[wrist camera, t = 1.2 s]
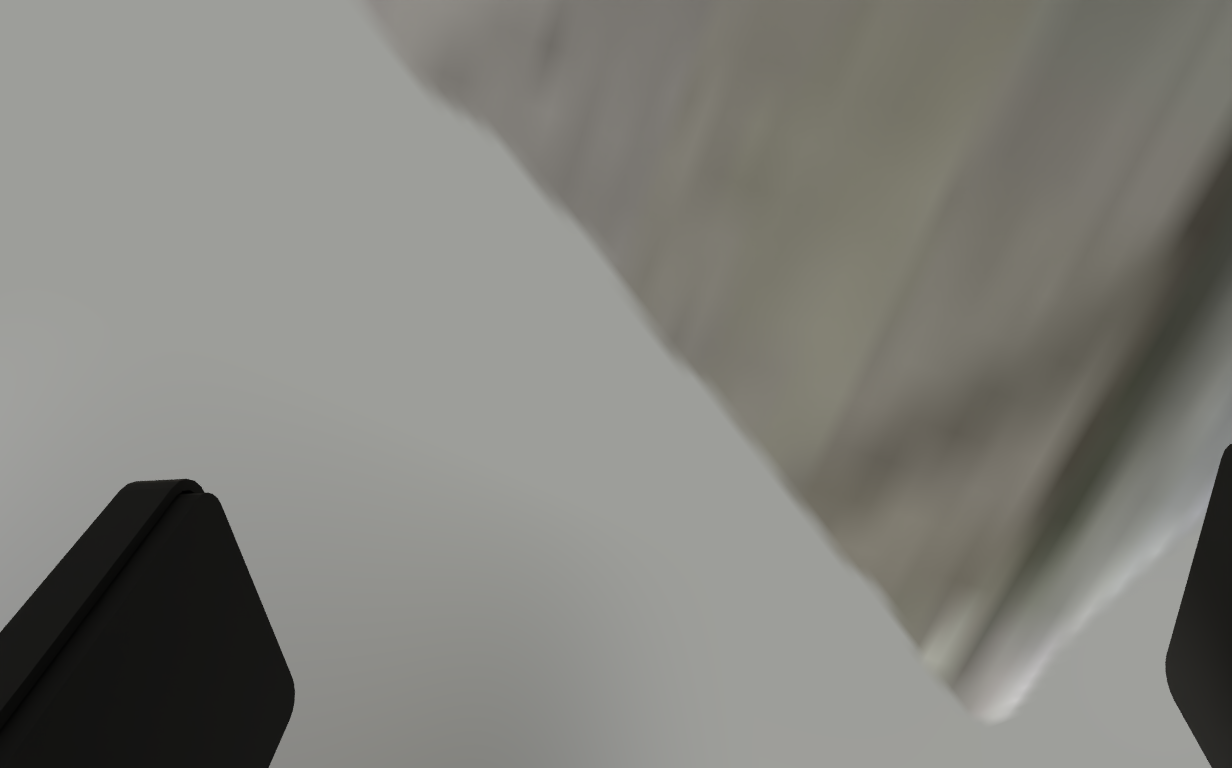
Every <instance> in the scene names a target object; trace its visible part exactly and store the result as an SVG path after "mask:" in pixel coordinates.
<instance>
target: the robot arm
mask: <svg viewBox="0 0 1232 768" xmlns="http://www.w3.org/2000/svg"><path fill="white" fill-rule="evenodd" d="M1165 663H1166V676H1167V682H1168V685H1169V689H1170V692H1171V694H1172V696H1173V699H1174V701H1175V702H1176V704H1177V706H1178V708H1179V710H1180V711H1181V713H1182V715H1183V717H1184V719H1185V720H1186V722H1187V724H1188V726H1189V728H1190V729H1191V731H1192V733H1193V735H1194V736H1195V738H1196V740H1197V742H1198V744H1199V746H1200V747H1201V749H1202V751H1203V753H1204V754H1205V756H1206V758H1207V760H1208V762H1209V763H1210V765H1211V767H1212V768H1232V444H1230V445H1229V446H1228V447H1227V448H1226V449H1225V451H1224V453H1223V456H1222V458H1221V462H1220V465H1219V469H1218V473H1217V476H1216V480H1215V483H1214V487H1213V491H1212V494H1211V498H1210V501H1209V505H1208V508H1207V512H1206V516H1205V519H1204V523H1203V526H1202V530H1201V534H1200V537H1199V541H1198V544H1197V548H1196V551H1195V555H1194V559H1193V562H1192V566H1191V569H1190V573H1189V577H1188V580H1187V584H1186V587H1185V591H1184V595H1183V598H1182V602H1181V605H1180V609H1179V612H1178V616H1177V619H1176V623H1175V627H1174V630H1173V634H1172V638H1171V641H1170V644H1169V648H1168V652H1167V656H1166V662H1165ZM294 697H295V689H294V682H293V679H292V676H291V674H290V671H289V669H288V666H287V664H286V661H285V659H284V656H283V654H282V651H281V649H280V647H279V644H278V642H277V639H276V637H275V634H274V632H273V629H272V627H271V625H270V622H269V620H268V617H267V615H266V612H265V610H264V608H263V605H262V603H261V600H260V598H259V595H258V593H257V591H256V588H255V586H254V583H253V581H252V578H251V576H250V574H249V571H248V569H247V566H246V564H245V561H244V559H243V556H242V554H241V552H240V549H239V547H238V544H237V542H236V540H235V537H234V535H233V532H232V530H231V527H230V525H229V522H228V520H227V518H226V515H225V513H224V510H223V508H222V506H221V503H220V502H219V500H218V498H217V497H216V496H214V495H213V494H210V493H204V491H203V489H202V487H201V486H200V485H199V484H198V483H196V482H195V481H193V480H189V479H176V480H158V481H157V480H156V481H136V482H133V483H130V484H127V485H126V486H125V487H124V488H122V489H121V490H120V491H119V492H118V494H117V495H116V496H115V497H114V498H113V499H112V501H111V502H110V503H109V504H108V506H107V507H106V508H105V509H104V510H103V511H102V513H101V514H100V515H99V516H98V517H97V519H96V520H95V521H94V522H93V523H92V524H91V525H90V527H89V528H88V529H87V530H86V531H85V533H84V534H83V535H82V536H81V537H80V539H79V540H78V541H77V542H76V543H75V544H74V546H73V547H72V548H71V549H70V550H69V552H68V553H67V554H66V555H65V556H64V558H63V559H62V560H61V561H60V562H59V564H58V565H57V566H56V567H55V568H54V569H53V571H52V572H51V573H50V574H49V575H48V576H47V578H46V579H45V580H44V581H43V582H42V584H41V585H40V586H39V587H38V588H37V589H36V591H35V592H34V593H33V594H32V596H31V597H30V598H29V599H28V600H27V601H26V603H25V604H24V605H23V606H22V607H21V609H20V610H19V611H18V612H17V613H16V615H15V616H14V617H13V618H12V619H11V620H10V622H9V623H8V624H7V625H6V626H5V627H4V629H3V630H2V631H1V632H0V768H269V765H270V763H271V761H272V759H273V756H274V754H275V752H276V749H277V747H278V745H279V743H280V740H281V738H282V736H283V733H284V731H285V729H286V727H287V724H288V722H289V720H290V717H291V714H292V711H293V706H294Z"/></svg>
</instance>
